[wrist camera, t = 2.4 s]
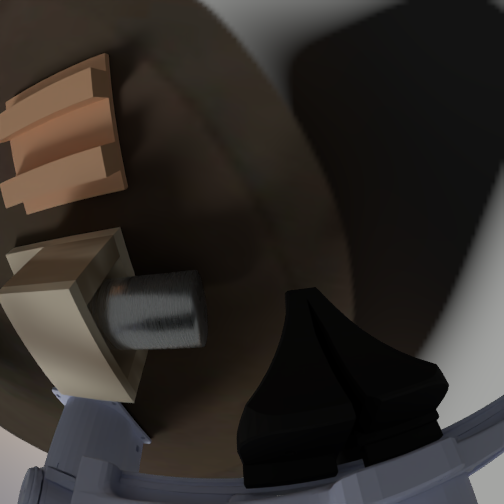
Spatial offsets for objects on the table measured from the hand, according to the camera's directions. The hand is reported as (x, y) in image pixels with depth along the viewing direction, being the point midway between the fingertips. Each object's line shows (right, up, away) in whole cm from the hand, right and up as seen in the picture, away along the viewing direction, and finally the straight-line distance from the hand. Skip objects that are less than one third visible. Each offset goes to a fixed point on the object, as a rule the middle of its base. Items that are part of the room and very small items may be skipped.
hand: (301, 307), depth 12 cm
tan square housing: (-13, 0, +3) cm, 14 cm away
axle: (-10, -1, +1) cm, 10 cm away
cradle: (-12, +8, -1) cm, 15 cm away
